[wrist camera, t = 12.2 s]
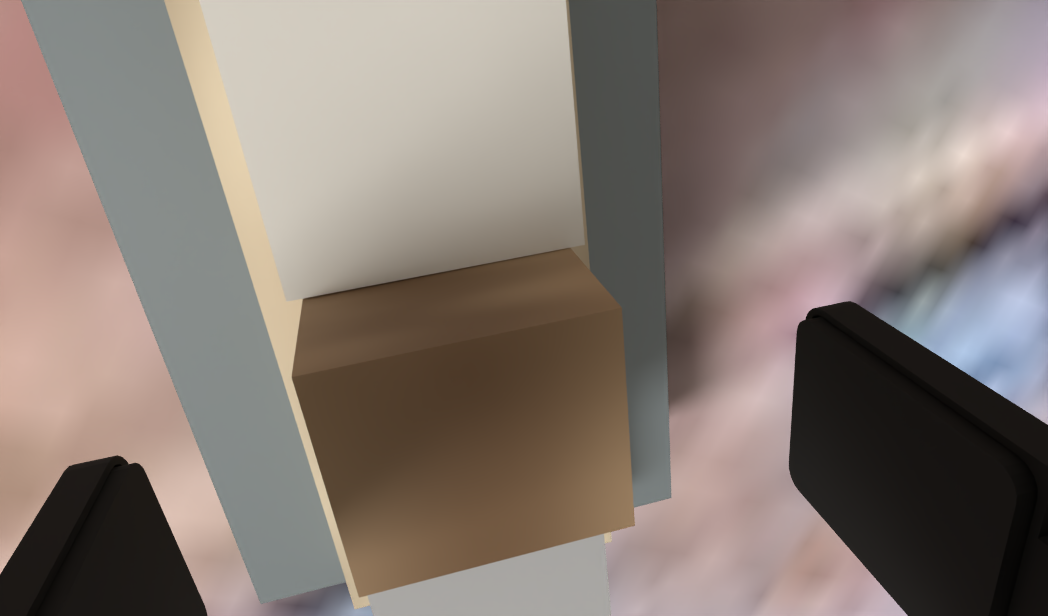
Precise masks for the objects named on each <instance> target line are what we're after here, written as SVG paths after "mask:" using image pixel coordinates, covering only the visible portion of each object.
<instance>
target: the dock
mask: <svg viewBox="0 0 1048 616" xmlns="http://www.w3.org/2000/svg"><path fill="white" fill-rule="evenodd" d="M21 1H22V4H23V6H24V9H25V11H26V14H27V16H28V19H29V21H30V24H31V26H32V29H33V31H34V34H35V36H36V39H37V41H38V44H39V47H40V49H41V52H42V54H43V57H44V59H45V62H46V64H47V67H48V69H49V72H50V74H51V77H52V79H53V82H54V84H55V87H56V89H57V92H58V94H59V97H60V99H61V102H62V104H63V107H64V109H65V112H66V115H67V117H68V120H69V122H70V125H71V127H72V130H73V132H74V135H75V137H76V140H77V142H78V145H79V147H80V150H81V152H82V155H83V157H84V160H85V162H86V165H87V167H88V170H89V172H90V175H91V177H92V180H93V183H94V185H95V188H96V190H97V193H98V195H99V198H100V200H101V203H102V205H103V208H104V210H105V213H106V215H107V218H108V220H109V223H110V225H111V228H112V230H113V233H114V235H115V238H116V240H117V243H118V246H119V248H120V251H121V253H122V256H123V258H124V261H125V263H126V266H127V268H128V271H129V273H130V276H131V278H132V281H133V283H134V286H135V288H136V291H137V293H138V296H139V298H140V301H141V303H142V306H143V308H144V311H145V314H146V316H147V319H148V321H149V324H150V326H151V329H152V331H153V334H154V336H155V339H156V341H157V344H158V346H159V349H160V351H161V354H162V356H163V359H164V361H165V364H166V366H167V369H168V371H169V374H170V376H171V379H172V382H173V384H174V387H175V389H176V392H177V394H178V397H179V399H180V402H181V404H182V407H183V409H184V412H185V414H186V417H187V419H188V422H189V424H190V427H191V429H192V432H193V434H194V437H195V439H196V442H197V445H198V447H199V450H200V452H201V455H202V457H203V460H204V462H205V465H206V467H207V470H208V472H209V475H210V477H211V480H212V482H213V485H214V487H215V490H216V492H217V495H218V497H219V500H220V502H221V505H222V507H223V510H224V513H225V515H226V518H227V520H228V523H229V525H230V528H231V530H232V533H233V535H234V538H235V540H236V543H237V545H238V548H239V550H240V553H241V555H242V558H243V560H244V563H245V565H246V568H247V570H248V573H249V575H250V578H251V581H252V583H253V586H254V588H255V591H256V593H257V596H258V598H259V601H260V603H261V604H263V603H266V602H270V601H274V600H278V599H282V598H286V597H290V596H294V595H297V594H301V593H305V592H309V591H313V590H317V589H321V588H324V587H328V586H332V585H336V584H340V583H344V582H346V580H345V576H344V573H343V570H342V567H341V564H340V560H339V557H338V554H337V551H336V548H335V544H334V541H333V538H332V535H331V532H330V528H329V525H328V522H327V519H326V516H325V513H324V509H323V506H322V503H321V500H320V497H319V493H318V490H317V487H316V484H315V481H314V477H313V474H312V471H311V468H310V465H309V461H308V458H307V455H306V452H305V449H304V445H303V442H302V439H301V436H300V433H299V430H298V426H297V423H296V420H295V417H294V414H293V410H292V407H291V404H290V401H289V398H288V394H287V391H286V388H285V385H284V382H283V378H282V375H281V372H280V369H279V366H278V362H277V359H276V356H275V353H274V350H273V346H272V343H271V340H270V337H269V334H268V331H267V327H266V324H265V321H264V318H263V315H262V311H261V308H260V305H259V302H258V299H257V295H256V292H255V289H254V286H253V283H252V279H251V276H250V273H249V270H248V267H247V263H246V260H245V257H244V254H243V251H242V247H241V244H240V241H239V238H238V235H237V232H236V228H235V225H234V222H233V219H232V216H231V212H230V209H229V206H228V203H227V200H226V196H225V193H224V190H223V187H222V184H221V180H220V177H219V174H218V171H217V168H216V164H215V161H214V158H213V155H212V152H211V148H210V145H209V142H208V139H207V136H206V133H205V129H204V126H203V123H202V120H201V117H200V113H199V110H198V107H197V104H196V101H195V97H194V94H193V91H192V88H191V85H190V81H189V78H188V75H187V72H186V69H185V65H184V62H183V59H182V56H181V53H180V49H179V46H178V43H177V40H176V37H175V34H174V30H173V27H172V24H171V21H170V18H169V14H168V11H167V8H166V5H165V2H164V0H21ZM569 12H570V24H571V37H572V50H573V62H574V75H575V87H576V100H577V112H578V125H579V138H580V150H581V163H582V175H583V188H584V200H585V213H586V226H587V238H588V251H589V263H590V271H591V272H592V274H593V275H594V276H595V277H596V278H597V279H598V280H599V282H600V283H601V284H602V285H603V286H604V287H605V289H606V290H607V291H608V292H609V293H610V294H611V296H612V297H613V298H614V299H615V300H616V301H617V303H618V304H619V305H620V306H621V307H622V318H623V335H624V352H625V369H626V386H627V403H628V419H629V436H630V453H631V470H632V487H633V504H634V507H638V506H642V505H646V504H649V503H653V502H657V501H661V500H665V499H669V498H671V473H670V439H669V406H668V372H667V339H666V305H665V272H664V238H663V205H662V172H661V138H660V105H659V71H658V38H657V4H656V0H569Z"/></svg>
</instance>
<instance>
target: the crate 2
mask: <svg viewBox="0 0 1048 616" xmlns="http://www.w3.org/2000/svg"><path fill="white" fill-rule="evenodd" d="M368 599H369V603H370V606H371V609H372V613H373V616H610V615H611V607H610V596H609V585H608V574H607V562H606V551H605V540H604V534H601V535H597V536H593V537H589V538H585V539H582V540H578V541H574V542H570V543H566V544H562V545H559V546H555V547H551V548H547V549H543V550H539V551H536V552H532V553H528V554H524V555H520V556H517V557H513V558H509V559H505V560H501V561H497V562H494V563H490V564H486V565H482V566H478V567H475V568H471V569H467V570H463V571H459V572H455V573H452V574H448V575H444V576H440V577H436V578H433V579H429V580H425V581H421V582H417V583H413V584H410V585H406V586H402V587H398V588H394V589H390V590H387V591H383V592H379V593H375V594H371V595H368Z"/></svg>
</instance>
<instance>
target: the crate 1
mask: <svg viewBox="0 0 1048 616" xmlns="http://www.w3.org/2000/svg"><path fill="white" fill-rule="evenodd" d="M199 2H200V5H201V9H202V12H203V16H204V19H205V23H206V26H207V29H208V33H209V36H210V40H211V43H212V47H213V50H214V54H215V57H216V60H217V64H218V67H219V71H220V74H221V78H222V81H223V85H224V88H225V92H226V95H227V98H228V102H229V105H230V109H231V112H232V116H233V119H234V123H235V126H236V129H237V133H238V136H239V140H240V143H241V147H242V150H243V154H244V157H245V161H246V164H247V167H248V171H249V174H250V178H251V181H252V185H253V188H254V192H255V195H256V198H257V202H258V205H259V209H260V212H261V216H262V219H263V223H264V226H265V230H266V233H267V236H268V240H269V243H270V247H271V250H272V254H273V257H274V261H275V264H276V267H277V271H278V274H279V278H280V281H281V285H282V288H283V292H284V295H285V299H286V302H288V301H293V300H298V299H304V298H309V297H314V296H319V295H324V294H330V293H335V292H340V291H345V290H351V289H356V288H361V287H366V286H372V285H377V284H382V283H387V282H393V281H398V280H403V279H408V278H414V277H419V276H424V275H429V274H434V273H440V272H445V271H450V270H455V269H461V268H466V267H471V266H476V265H482V264H487V263H492V262H497V261H503V260H508V259H513V258H518V257H523V256H529V255H534V254H539V253H544V252H550V251H555V250H560V249H565V248H571V247H576V246H581V245H585V239H584V226H583V213H582V201H581V188H580V175H579V162H578V150H577V137H576V124H575V111H574V99H573V86H572V73H571V60H570V48H569V35H568V22H567V9H566V0H199Z"/></svg>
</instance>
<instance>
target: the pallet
mask: <svg viewBox="0 0 1048 616" xmlns="http://www.w3.org/2000/svg"><path fill="white" fill-rule="evenodd" d="M164 2H165V5H166V8H167V11H168V14H169V18H170V21H171V24H172V27H173V30H174V34H175V37H176V40H177V43H178V46H179V49H180V53H181V56H182V59H183V62H184V65H185V69H186V72H187V75H188V78H189V81H190V85H191V88H192V91H193V94H194V97H195V101H196V104H197V107H198V110H199V113H200V117H201V120H202V123H203V126H204V129H205V133H206V136H207V139H208V142H209V145H210V148H211V152H212V155H213V158H214V161H215V164H216V168H217V171H218V174H219V177H220V180H221V184H222V187H223V190H224V193H225V196H226V200H227V203H228V206H229V209H230V212H231V216H232V219H233V222H234V225H235V228H236V232H237V235H238V238H239V241H240V244H241V247H242V251H243V254H244V257H245V260H246V263H247V267H248V270H249V273H250V276H251V279H252V283H253V286H254V289H255V292H256V295H257V299H258V302H259V305H260V308H261V311H262V315H263V318H264V321H265V324H266V327H267V331H268V334H269V337H270V340H271V343H272V346H273V350H274V353H275V356H276V359H277V362H278V366H279V369H280V372H281V375H282V378H283V382H284V385H285V388H286V391H287V394H288V398H289V401H290V404H291V407H292V410H293V414H294V417H295V420H296V423H297V426H298V430H299V433H300V436H301V439H302V442H303V445H304V449H305V452H306V455H307V458H308V461H309V465H310V468H311V471H312V474H313V477H314V481H315V484H316V487H317V490H318V493H319V497H320V500H321V503H322V506H323V509H324V513H325V516H326V519H327V522H328V525H329V528H330V532H331V535H332V538H333V541H334V544H335V548H336V551H337V554H338V557H339V560H340V564H341V567H342V570H343V573H344V576H345V580H346V583H347V586H348V589H349V592H350V596H351V599H352V602H353V605H354V608H355V609H358V608H362V607H366V606H369V605H370V603H369V599H368V595H371V594H375V593H379V592H383V591H387V590H390V589H394V588H398V587H402V586H406V585H410V584H413V583H417V582H421V581H425V580H429V579H433V578H436V577H440V576H444V575H448V574H452V573H455V572H459V571H463V570H467V569H471V568H475V567H478V566H482V565H486V564H490V563H494V562H497V561H501V560H505V559H509V558H513V557H517V556H520V555H524V554H528V553H532V552H536V551H539V550H543V549H547V548H551V547H555V546H559V545H562V544H566V543H570V542H574V541H578V540H582V539H585V538H589V537H593V536H597V535H601V534H604V540H605V543H608V542H612V540H611V532H612V531H616V530H620V529H624V528H627V527H631V526H635V521H634V504H633V487H632V470H631V453H630V436H629V419H628V403H627V386H626V369H625V352H624V335H623V318H622V307H621V306H620V305H619V304H618V303H617V301H616V300H615V299H614V298H613V297H612V296H611V294H610V293H609V292H608V291H607V290H606V289H605V287H604V286H603V285H602V284H601V283H600V282H599V280H598V279H597V278H596V277H595V276H594V275H593V274H592V272H591V271H590V263H589V251H588V238H587V226H586V213H585V200H584V188H583V175H582V163H581V150H580V138H579V125H578V112H577V100H576V87H575V75H574V62H573V50H572V37H571V24H570V12H569V0H566V9H567V22H568V35H569V48H570V60H571V73H572V86H573V99H574V111H575V124H576V137H577V150H578V162H579V175H580V188H581V201H582V213H583V226H584V239H585V245H581V246H576V247H571V248H565V249H560V250H555V251H550V252H544V253H539V254H534V255H529V256H523V257H518V258H513V259H508V260H503V261H497V262H492V263H487V264H482V265H476V266H471V267H466V268H461V269H455V270H450V271H445V272H440V273H434V274H429V275H424V276H419V277H414V278H408V279H403V280H398V281H393V282H387V283H382V284H377V285H372V286H366V287H361V288H356V289H351V290H345V291H340V292H335V293H330V294H324V295H319V296H314V297H309V298H304V299H298V300H293V301H288V302H286V299H285V295H284V292H283V288H282V285H281V281H280V278H279V274H278V271H277V267H276V264H275V261H274V257H273V254H272V250H271V247H270V243H269V240H268V236H267V233H266V230H265V226H264V223H263V219H262V216H261V212H260V209H259V205H258V202H257V198H256V195H255V192H254V188H253V185H252V181H251V178H250V174H249V171H248V167H247V164H246V161H245V157H244V154H243V150H242V147H241V143H240V140H239V136H238V133H237V129H236V126H235V123H234V119H233V116H232V112H231V109H230V105H229V102H228V98H227V95H226V92H225V88H224V85H223V81H222V78H221V74H220V71H219V67H218V64H217V60H216V57H215V54H214V50H213V47H212V43H211V40H210V36H209V33H208V29H207V26H206V23H205V19H204V16H203V12H202V9H201V5H200V2H199V0H164Z"/></svg>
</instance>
